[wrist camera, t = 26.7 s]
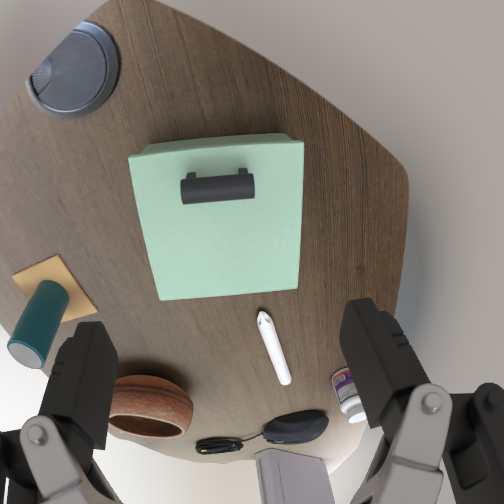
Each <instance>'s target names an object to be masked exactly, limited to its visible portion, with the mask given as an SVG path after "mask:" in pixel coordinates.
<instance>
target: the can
mask: <svg viewBox="0 0 504 504" xmlns="http://www.w3.org/2000/svg"><path fill="white" fill-rule="evenodd" d="M68 304H69V295H68V293H67V291H66V290H65V289H64V288H63V287H62V286H61V285H60V284H59V283H57V282H55V281H52V280H43V281H41V282H40V283H39V284H38V286H37V288H36V289H35V291H34V293H33V295H32V297H31V298H30V300H29V302H28V304H27V306H26V308H25V309H24V311H23V313H22V315H21V317H20V319H19V321H18V323H17V325H16V327H15V329H14V331H13V333H12V335H11V337H10V339H9V341H8V344H7V348H8V350H9V352H10V354H11V355H12V356H13V358H14V359H15V360H17V361H18V362H19V363H20V364H22V365H24V366H26V367H29V368H33V369H40V368H42V367H43V366H44V364H45V361H46V358H47V356H48V353H49V350H50V348H51V345H52V342H53V340H54V337H55V335H56V332H57V330H58V327H59V325H60V323H61V320H62V318H63V315H64V313H65V311H66V308H67V306H68Z"/></svg>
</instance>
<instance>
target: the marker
mask: <svg viewBox="0 0 504 504" xmlns="http://www.w3.org/2000/svg"><path fill="white" fill-rule="evenodd" d="M257 324H258V327H259V330H260V332H261V335H262V338H263V340H264V343H265V345H266V348H267V350H268V353H269V356H270V358H271V361H272V363H273V366H274V368H275V371H276V373H277V376H278V378H279V381H280V383H281V384H282V385H288V384H290V382H291V375H290V372H289V369H288V366H287V363H286V360H285V357H284V354H283V351H282V348H281V345H280V342H279V339H278V336H277V333H276V330H275V327H274V324H273V321H272V319H271V317H270V316H269V315H268V314H267V313H265V312H264V311H260V312H259V315H258V318H257Z"/></svg>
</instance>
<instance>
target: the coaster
mask: <svg viewBox="0 0 504 504" xmlns="http://www.w3.org/2000/svg"><path fill="white" fill-rule="evenodd" d="M12 277H13V279H14V280H15V282H16V283H17V284H18V286H19V287H20V288H21V290H22V291H23V292H24V294H25V295H26V296H27V298H28V299H29V300H30V298H31V297H32V295H33V293H34V291H35V289H36V288H37V286H38V284H39V283H40V282H41V281H43V280H52V281H55V282H57V283H59V284H60V285H61V286H62V287H63V288H64V289H65V290H66V291H67V293H68V295H69V304H68V306H67V308H66V311H65V313H64V315H63V318H62V320H61V323H62V322H65V321H69V320H72V319H76V318H79V317H82V316H86V315H89V314H93V313H96V312H98V309H97V308H96V306H95V305H94V304H93V302H92V301H91V300H90V298H89V297H88V296H87V294H86V293H85V292H84V290H83V289H82V287H81V286H80V285H79V283H78V282H77V280H76V279H75V277H74V276H73V275H72V273H71V272H70V270H69V269H68V267H67V266H66V264H65V263H64V261H63V260H62V258H61V257H60V255H59V254H57V255H55V256H53V257H51V258H48V259H46V260H44V261H42V262H40V263H37V264H35V265H33V266H31V267H29V268H27V269H25V270H22V271H20V272H18V273H16V274H14V275H13V276H12Z"/></svg>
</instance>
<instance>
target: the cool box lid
mask: <svg viewBox="0 0 504 504" xmlns="http://www.w3.org/2000/svg"><path fill="white" fill-rule="evenodd" d="M128 161H129V167H130V173H131V178H132V183H133V189H134V194H135V199H136V204H137V209H138V213H139V218H140V223H141V227H142V231H143V236H144V240H145V244H146V249H147V253H148V257H149V261H150V265H151V269H152V273H153V276H154V280H155V284H156V288H157V291H158V295H159V298H160V300H175V299H188V298H201V297H213V296H224V295H236V294H246V293H257V292H267V291H277V290H286V289H295V288H297V287H298V273H299V257H300V239H301V219H302V196H303V166H304V142H302V141H269V142H250V143H234V144H221V145H209V146H199V147H189V148H180V149H171V150H163V151H156V152H148V153H141V154H135V155H130V156H129V157H128Z"/></svg>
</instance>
